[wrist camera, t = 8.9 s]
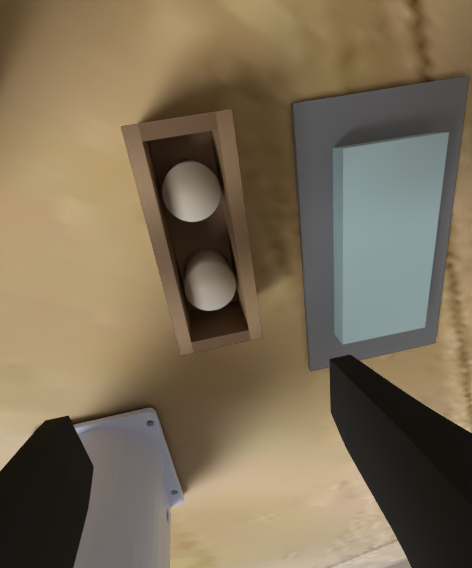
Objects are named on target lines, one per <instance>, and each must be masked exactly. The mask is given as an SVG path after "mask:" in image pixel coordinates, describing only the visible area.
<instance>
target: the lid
mask: <svg viewBox="0 0 472 568" xmlns="http://www.w3.org/2000/svg"><path fill="white" fill-rule="evenodd" d="M448 137H449V132H432V133H425V134H419V135H412V136H406V137H399V138H393V139H386V140H380V141H373V142H367V143H360V144H354V145H347V146H341V147H334V148H333V238H334V334H335V336H336V337H337V338H338V339H339V341H340V342H341V343H342V344H348V343H353V342H358V341H363V340H367V339H372V338H377V337H382V336H386V335H391V334H396V333H401V332H406V331H410V330H415V329H420V328H425V323H426V315H427V307H428V299H429V291H430V283H431V275H432V267H433V259H434V251H435V242H436V234H437V226H438V218H439V210H440V202H441V194H442V186H443V178H444V170H445V161H446V153H447V145H448Z"/></svg>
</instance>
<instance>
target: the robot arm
mask: <svg viewBox="0 0 472 568" xmlns="http://www.w3.org/2000/svg"><path fill="white" fill-rule="evenodd" d="M329 362H330V398H331V414H332V416H333V418H334V421H335V423H336V426H337V428H338V430H339V433H340V435H341V437H342V440H343V442H344V444H345V446H346V448H347V450H348V452H349V454H350V456H351V457H352V459H353V461H354V463H355V464H356V466H357V468H358V470H359V472H360V473H361V475H362V477H363V479H364V480H365V482H366V484H367V486H368V487H369V489H370V491H371V493H372V494H373V496H374V498H375V500H376V502H377V503H378V505H379V507H380V509H381V510H382V512H383V514H384V516H385V517H386V519H387V521H388V523H389V524H390V526H391V528H392V530H393V531H394V533H395V535H396V537H397V539H398V541H399V543H400V545H401V547H402V549H403V551H404V552H405V555H406V557H407V559H408V561H409V563H410V565H411V567H412V568H472V433H470V432H469V431H467V430H465V429H463V428H462V427H460V426H458V425H457V424H455V423H453V422H452V421H450V420H448V419H446V418H445V417H443V416H441V415H440V414H438V413H436V412H435V411H433V410H432V409H430V408H428V407H427V406H425V405H424V404H422V403H421V402H419V401H418V400H416V399H415V398H413V397H411V396H410V395H408V394H407V393H405V392H404V391H402V390H401V389H399V388H398V387H396V386H395V385H393V384H392V383H391V382H389V381H388V380H386V379H385V378H383V377H382V376H380V375H379V374H378V373H376V372H375V371H373V370H372V369H370V368H369V367H368V366H366V365H365V364H363V363H362V362H360V361H359V360H358V359H356V358H355V357H353V356H352V355H345V356H341V357H336V358H331V359H329ZM149 420H152V422H149ZM183 501H184V494H183V491H182V488H181V485H180V482H179V479H178V476H177V473H176V470H175V467H174V464H173V461H172V458H171V455H170V452H169V449H168V446H167V443H166V440H165V437H164V434H163V431H162V428H161V425H160V422H159V419H158V416H157V413H156V411H155V410H154V409H153V408H145V409H140V410H136V411H131V412H127V413H123V414H118V415H114V416H109V417H105V418H101V419H96V420H92V421H87V422H83V423H79V424H74V425H73V423H72V421H71V419H70V417H69V416H65V417H60V418H55V419H51V420H46V421H45V422H44V423H43V424H42V425H41V426H40V427H39V428H38V429H37V430H36V431H35V432H34V433H33V434H32V435H31V436H30V438H29V439H28V440H27V441H26V442H25V444H24V445H23V446H22V447H21V448H20V449H19V450H18V452H17V453H16V454H15V455H14V456H13V457H12V458H11V460H10V461H9V462H8V463H7V464H6V465H5V467H4V468H3V469H2V470H1V471H0V568H170V522H171V506H175V505H179V504H181V503H182V502H183Z"/></svg>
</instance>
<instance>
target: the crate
mask: <svg viewBox="0 0 472 568" xmlns="http://www.w3.org/2000/svg"><path fill="white" fill-rule="evenodd" d="M121 129H122V133H123V137H124V141H125V144H126V148H127V152H128V156H129V160H130V163H131V167H132V171H133V175H134V179H135V182H136V186H137V190H138V194H139V197H140V201H141V205H142V209H143V213H144V216H145V220H146V224H147V228H148V232H149V235H150V239H151V243H152V247H153V251H154V254H155V258H156V262H157V266H158V270H159V273H160V277H161V281H162V285H163V289H164V292H165V296H166V300H167V304H168V308H169V311H170V315H171V319H172V323H173V326H174V330H175V334H176V338H177V342H178V345H179V349H180V353H181V355H186V354H190V353H195V352H200V351H204V350H209V349H213V348H218V347H223V346H227V345H232V344H237V343H241V342H246V341H251V340H255V339H260V338H263V337H262V330H261V323H260V315H259V308H258V300H257V293H256V285H255V278H254V270H253V263H252V256H251V248H250V241H249V233H248V226H247V218H246V211H245V204H244V196H243V189H242V181H241V174H240V166H239V159H238V151H237V144H236V137H235V129H234V122H233V114H232V109H227V110H221V111H215V112H208V113H202V114H195V115H189V116H183V117H176V118H170V119H164V120H157V121H151V122H144V123H138V124H132V125H125V126H121Z"/></svg>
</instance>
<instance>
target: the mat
mask: <svg viewBox="0 0 472 568" xmlns="http://www.w3.org/2000/svg"><path fill="white" fill-rule="evenodd" d="M468 81H469V76H463V77H457V78H451V79H444V80H438V81H432V82H425V83H419V84H413V85H406V86H400V87H393V88H387V89H381V90H374V91H368V92H362V93H355V94H349V95H343V96H336V97H330V98H324V99H317V100H311V101H305V102H298V103H292V104H291V108H292V123H293V138H294V152H295V167H296V182H297V197H298V211H299V226H300V241H301V256H302V270H303V285H304V300H305V315H306V329H307V344H308V359H309V369H310V371H315V370H319V369H323V368H328V367H330V362H329V359H331V358H336V357H341V356H345V355H352V356H353V357H355V358H356V359H358V360H363V359H367V358H372V357H376V356H381V355H385V354H389V353H394V352H398V351H403V350H407V349H411V348H416V347H420V346H425V345H429V344H433V343H436V335H437V327H438V319H439V311H440V303H441V295H442V287H443V279H444V271H445V264H446V256H447V248H448V240H449V232H450V224H451V216H452V208H453V200H454V192H455V184H456V176H457V168H458V160H459V152H460V144H461V136H462V128H463V121H464V113H465V105H466V97H467V89H468ZM432 132H449V137H448V145H447V153H446V161H445V170H444V178H443V186H442V194H441V202H440V210H439V218H438V226H437V234H436V242H435V251H434V259H433V267H432V275H431V283H430V291H429V299H428V307H427V315H426V323H425V328H420V329H415V330H410V331H406V332H401V333H396V334H391V335H386V336H382V337H377V338H372V339H367V340H363V341H358V342H353V343H348V344H342V343H341V342H340V341H339V339H338V338H337V337H336V336H335V334H334V238H333V148H334V147H341V146H347V145H354V144H360V143H367V142H373V141H380V140H386V139H393V138H399V137H406V136H412V135H419V134H425V133H432Z"/></svg>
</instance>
